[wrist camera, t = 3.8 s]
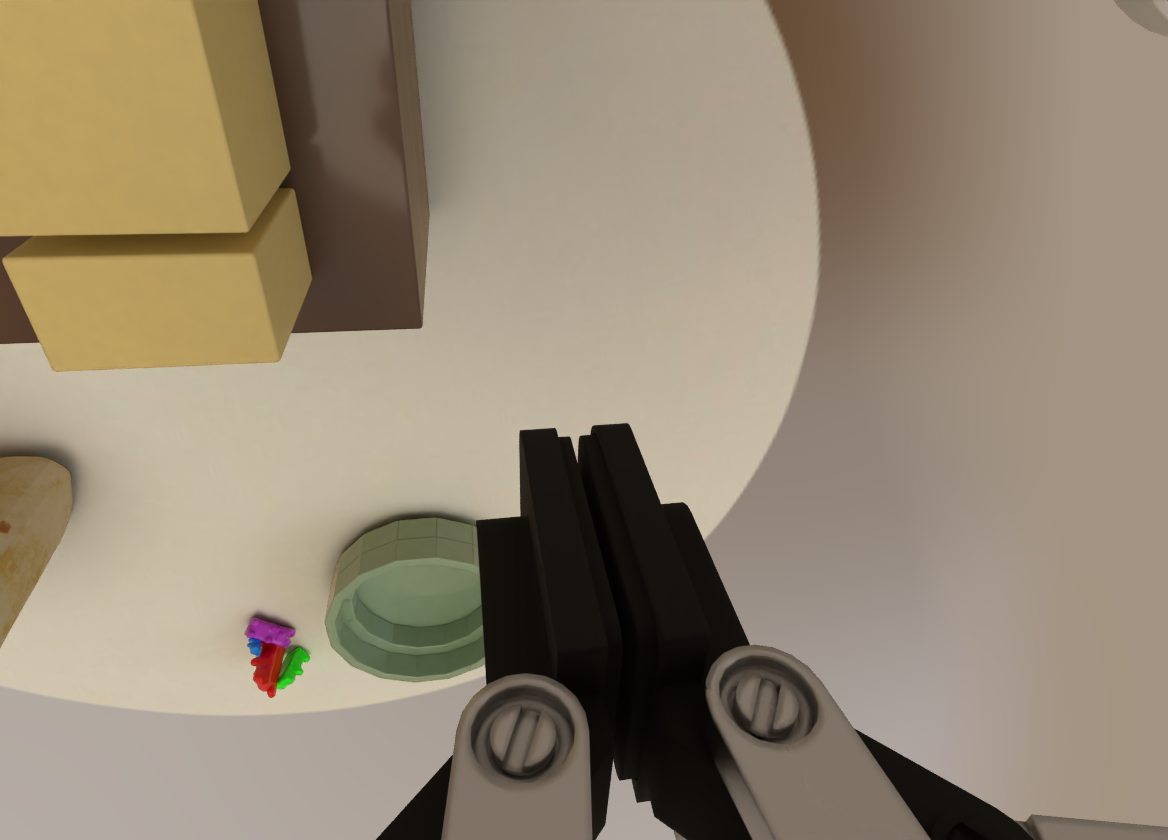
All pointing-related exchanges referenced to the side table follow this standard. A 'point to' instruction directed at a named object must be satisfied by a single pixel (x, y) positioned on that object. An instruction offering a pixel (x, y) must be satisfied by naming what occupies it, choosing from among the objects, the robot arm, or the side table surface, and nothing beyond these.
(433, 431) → the side table surface
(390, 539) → the dish
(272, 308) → the butter slice
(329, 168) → the chopping block
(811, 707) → the robot arm
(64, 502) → the food model
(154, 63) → the butter
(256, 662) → the multicolored plastic block cluster
